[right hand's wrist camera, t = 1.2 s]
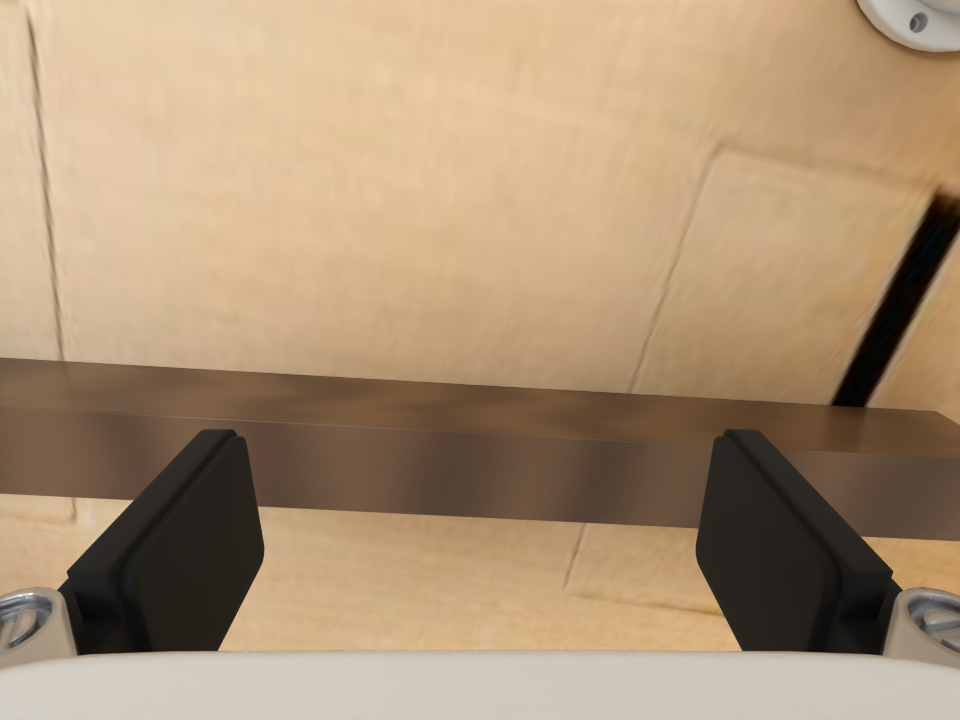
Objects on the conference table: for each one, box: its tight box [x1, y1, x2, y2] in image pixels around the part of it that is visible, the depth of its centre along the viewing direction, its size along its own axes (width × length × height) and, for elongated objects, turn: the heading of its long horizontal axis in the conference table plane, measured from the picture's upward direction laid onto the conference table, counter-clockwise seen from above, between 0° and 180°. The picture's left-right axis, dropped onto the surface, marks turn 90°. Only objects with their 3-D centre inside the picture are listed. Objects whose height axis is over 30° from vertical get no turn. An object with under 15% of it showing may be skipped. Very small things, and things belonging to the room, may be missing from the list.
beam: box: [0, 358, 960, 541], centre depth 34 cm, size 82×6×6 cm, turn 86°
